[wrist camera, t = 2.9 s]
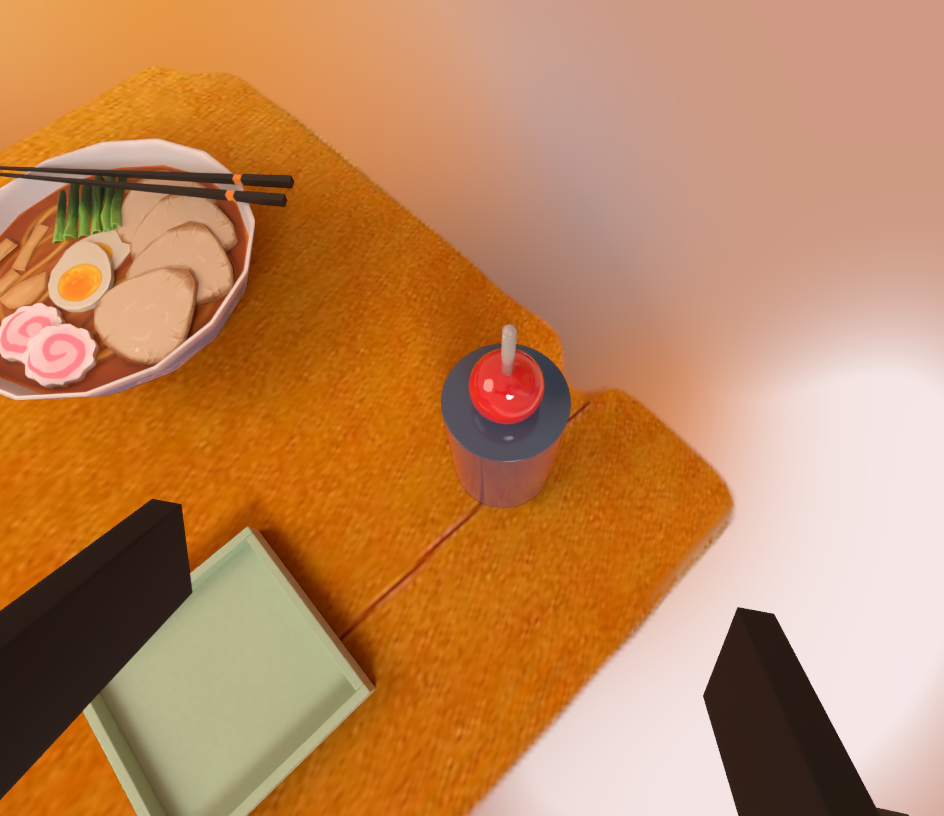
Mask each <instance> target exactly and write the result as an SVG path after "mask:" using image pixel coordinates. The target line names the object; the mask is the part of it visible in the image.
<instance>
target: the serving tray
mask: <svg viewBox="0 0 944 816" xmlns="http://www.w3.org/2000/svg"><path fill="white" fill-rule="evenodd" d="M190 576H191V584H192V591H193V593H192V594H191V595H190V596H189V597H188V598H187V599H186V600H185V601H184V603H183V604H182V605H181V606H180V607H179V608H178V609H177V610H176V611H175V612H174V613H173V614H172V615H171V617H170V618H169V619H168V620H167V621H166V622H165V623H164V624H163V625H162V626H161V627H160V628H159V629H158V631H157V632H156V633H155V634H154V635H153V636H152V637H151V638H150V639H149V640H148V641H147V642H146V643H145V645H144V646H143V647H142V648H141V649H140V650H139V651H138V652H137V653H136V654H135V655H134V656H133V657H132V659H131V660H130V661H129V662H128V663H127V664H126V665H125V666H124V667H123V668H122V669H121V670H120V671H119V673H118V674H117V675H116V676H115V677H114V678H113V679H112V680H111V681H110V682H109V683H108V684H107V686H106V687H105V688H104V689H103V690H102V691H101V692H100V693H99V694H98V695H97V696H96V697H95V698H94V700H93V701H92V702H91V703H90V704H89V705H88V706H87V707H86V708H85V709H84V710H83V713H84V715H85V716H86V718H87V720H88V722H89V724H90V726H91V728H92V730H93V732H94V734H95V735H96V737H97V739H98V741H99V743H100V745H101V747H102V749H103V751H104V753H105V754H106V756H107V758H108V760H109V762H110V764H111V766H112V768H113V770H114V772H115V773H116V775H117V777H118V779H119V781H120V783H121V785H122V787H123V789H124V791H125V793H126V794H127V796H128V798H129V800H130V802H131V804H132V806H133V808H134V810H135V812H136V813H137V815H138V816H247V815H248V814H250V813H251V812H252V811H253V810H254V809H255V808H256V807H257V806H258V805H259V804H260V803H261V802H262V801H263V800H264V799H265V798H266V797H267V796H268V795H269V794H270V793H271V792H272V791H273V790H274V789H275V788H276V787H277V786H278V785H279V784H280V783H281V782H282V781H283V780H284V779H285V778H286V777H287V776H288V775H289V774H290V773H291V772H292V771H293V770H294V769H295V768H296V767H297V766H298V765H299V764H300V763H301V762H303V761H304V760H305V759H306V758H307V757H308V756H309V755H310V754H311V753H312V752H313V751H314V750H315V749H316V748H317V747H318V746H319V745H320V744H321V743H322V742H323V741H324V740H325V739H326V738H327V737H328V736H329V735H330V734H331V733H332V732H333V731H334V730H335V729H336V728H337V727H338V726H339V725H340V724H341V723H342V722H343V721H344V720H345V719H346V718H347V717H348V716H349V715H350V714H351V713H352V712H353V711H354V710H356V709H357V708H358V707H359V706H360V705H361V704H362V703H363V702H364V701H365V700H366V699H367V698H368V697H369V696H370V695H371V694H372V693H373V692H374V691H375V690H376V688H375V686H374V685H373V684H372V682H371V681H370V680H369V678H368V677H367V676H366V674H365V673H364V672H363V670H362V669H361V668H360V666H359V665H358V664H357V662H356V661H355V659H354V658H353V657H352V655H351V654H350V653H349V651H348V650H347V649H346V647H345V646H344V645H343V643H342V642H341V641H340V639H339V638H338V637H337V635H336V634H335V633H334V631H333V630H332V629H331V627H330V626H329V624H328V623H327V622H326V620H325V619H324V618H323V616H322V615H321V614H320V612H319V611H318V610H317V608H316V607H315V606H314V604H313V603H312V602H311V600H310V599H309V598H308V596H307V595H306V594H305V592H304V591H303V590H302V588H301V587H300V585H299V584H298V583H297V581H296V580H295V579H294V577H293V576H292V575H291V573H290V572H289V571H288V569H287V568H286V567H285V565H284V564H283V563H282V561H281V560H280V559H279V557H278V556H277V555H276V553H275V552H274V550H273V549H272V548H271V546H270V545H269V544H268V542H267V541H266V540H265V538H264V537H263V536H262V534H261V533H260V532H259V531H258V530H256V529H253V528H251V527H249V526H247V527H246V528H245V529H243V530H242V531H241V532H240V533H238V534H237V535H236V536H235V537H234V538H232V539H231V540H230V541H229V542H228V543H226V544H225V545H224V546H223V547H221V548H220V549H219V550H218V551H217V552H215V553H214V554H213V555H212V556H211V557H209V558H208V559H207V560H206V561H204V562H203V563H202V564H201V565H200V566H198V567H197V568H196V569H195V570H194V571H192V572H191V573H190Z"/></svg>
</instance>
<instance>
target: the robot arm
mask: <svg viewBox="0 0 944 816" xmlns="http://www.w3.org/2000/svg"><path fill="white" fill-rule="evenodd" d="M192 593H193V591H192V584H191V576H190V568H189V560H188V553H187V545H186V537H185V530H184V522H183V514H182V506H181V504H177V503H172V502H166V501H161V500H155V499H151V500H150V501H149V502H147V503H146V504H145V505H143V506H142V507H141V508H139V509H138V510H137V511H135V512H134V513H132V514H131V515H130V516H128V517H127V518H126V519H124V520H123V521H122V522H120V523H119V524H118V525H116V526H115V527H113V528H112V529H111V530H109V531H108V532H107V533H105V534H104V535H103V536H101V537H100V538H99V539H97V540H96V541H95V542H93V543H92V544H90V545H89V546H88V547H86V548H85V549H84V550H82V551H81V552H80V553H78V554H77V555H76V556H74V557H73V558H71V559H70V560H69V561H67V562H66V563H65V564H63V565H62V566H61V567H59V568H58V569H57V570H55V571H54V572H53V573H51V574H50V575H48V576H47V577H46V578H44V579H43V580H42V581H40V582H39V583H38V584H36V585H35V586H34V587H32V588H31V589H29V590H28V591H27V592H25V593H24V594H23V595H21V596H20V597H19V598H17V599H16V600H15V601H13V602H12V603H10V604H9V605H8V606H6V607H5V608H4V609H2V610H1V611H0V800H1V799H2V798H3V796H4V795H5V794H6V793H7V792H8V791H9V790H10V789H11V788H12V787H13V786H14V785H15V784H16V782H17V781H18V780H19V779H20V778H21V777H22V776H23V775H24V774H25V773H26V772H27V771H28V770H29V768H30V767H31V766H32V765H33V764H34V763H35V762H36V761H37V760H38V759H39V758H40V757H41V756H42V754H43V753H44V752H45V751H46V750H47V749H48V748H49V747H50V746H51V745H52V744H53V743H54V742H55V740H56V739H57V738H58V737H59V736H60V735H61V734H62V733H63V732H64V731H65V730H66V729H67V728H68V726H69V725H70V724H71V723H72V722H73V721H74V720H75V719H76V718H77V717H78V716H79V715H80V714H81V712H82V711H83V710H84V709H85V708H86V707H87V706H88V705H89V704H90V703H91V702H92V701H93V700H94V698H95V697H96V696H97V695H98V694H99V693H100V692H101V691H102V690H103V689H104V688H105V687H106V686H107V684H108V683H109V682H110V681H111V680H112V679H113V678H114V677H115V676H116V675H117V674H118V673H119V671H120V670H121V669H122V668H123V667H124V666H125V665H126V664H127V663H128V662H129V661H130V660H131V659H132V657H133V656H134V655H135V654H136V653H137V652H138V651H139V650H140V649H141V648H142V647H143V646H144V645H145V643H146V642H147V641H148V640H149V639H150V638H151V637H152V636H153V635H154V634H155V633H156V632H157V631H158V629H159V628H160V627H161V626H162V625H163V624H164V623H165V622H166V621H167V620H168V619H169V618H170V617H171V615H172V614H173V613H174V612H175V611H176V610H177V609H178V608H179V607H180V606H181V605H182V604H183V603H184V601H185V600H186V599H187V598H188V597H189V596H190V595H191V594H192ZM703 697H704V701H705V704H706V707H707V711H708V714H709V718H710V721H711V725H712V728H713V731H714V735H715V737H716V741H717V745H718V748H719V751H720V755H721V758H722V761H723V765H724V768H725V772H726V775H727V779H728V782H729V785H730V789H731V792H732V795H733V799H734V802H735V806H736V809H737V812H738V815H739V816H909V815H907V814H904V813H899V812H894V811H890V810H885V809H880V808H876V807H875V805H874V803H873V801H872V799H871V797H870V795H869V793H868V791H867V790H866V787H865V786H864V784H863V782H862V780H861V778H860V776H859V774H858V773H857V770H856V768H855V767H854V765H853V763H852V761H851V759H850V757H849V755H848V753H847V752H846V750H845V748H844V746H843V744H842V742H841V740H840V738H839V736H838V734H837V733H836V731H835V729H834V727H833V725H832V723H831V721H830V719H829V718H828V715H827V714H826V712H825V710H824V708H823V706H822V704H821V702H820V700H819V698H818V697H817V694H816V693H815V691H814V689H813V687H812V685H811V683H810V681H809V680H808V677H807V676H806V674H805V672H804V670H803V668H802V666H801V664H800V662H799V661H798V658H797V656H796V655H795V653H794V651H793V649H792V647H791V645H790V644H789V641H788V639H787V637H786V636H785V634H784V632H783V630H782V628H781V626H780V624H779V622H778V620H777V619H776V617H775V615H774V614H772V613H767V612H761V611H756V610H750V609H744V608H739V607H738V608H737V610H736V613H735V616H734V618H733V620H732V623H731V626H730V628H729V631H728V633H727V636H726V638H725V641H724V644H723V646H722V649H721V651H720V654H719V656H718V659H717V661H716V664H715V667H714V669H713V672H712V674H711V677H710V679H709V682H708V685H707V687H706V690H705V692H704V695H703Z"/></svg>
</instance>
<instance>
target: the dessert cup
mask: <svg viewBox="0 0 944 816" xmlns="http://www.w3.org/2000/svg"><path fill="white" fill-rule="evenodd" d="M516 337H517V329H516V327H515V326H514V325H512V324H507V325H505V326H504V327H503V329H502V343H501V344H493V345H488V346H485V347H482V348H479V349H477V350H475V351H473V352H471V353H469V354H468V355H466V356H465V357H464V358H462V359H461V360H460V361H459V362H458V363H457V364H456V365H455V366H454V367H453V369H452V370H451V372H450V373H449V375H448V377H447V379H446V381H445V384H444V386H443V390H442V395H441V408H442V414H443V418H444V423H445V427H446V431H447V435H448V440H449V444H450V448H451V452H452V456H453V461H454V465H455V469H456V473H457V477H458V479H459V481H460V483H461V485H462V487H463V488H464V489H465V491H466V492H467V493H468V494H469V495H470V496H471V497H472V498H474V499H475V500H477V501H478V502H480V503H482V504H484V505H487V506H491V507H496V508H511V507H515V506H519V505H521V504H524V503H526V502H527V501H529V500H531V499H532V498H533V497H534V496H535V495H536V494H538V493H539V491H540V490H541V489H542V487H543V486H544V484H545V482H546V480H547V477H548V474H549V472H550V469H551V466H552V463H553V461H554V458H555V455H556V452H557V450H558V447H559V444H560V441H561V439H562V436H563V433H564V430H565V428H566V425H567V422H568V419H569V415H570V408H571V397H570V392H569V388H568V385H567V382H566V380H565V378H564V376H563V374H562V373H561V371H560V370H559V368H558V367H557V366H556V365H555V364H554V363H553V362H552V361H551V360H550V359H549V358H547V357H546V356H545V355H543V354H542V353H540V352H538V351H536V350H534V349H532V348H529V347H526V346H522V345H518V344H516Z"/></svg>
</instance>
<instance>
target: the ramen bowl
mask: <svg viewBox="0 0 944 816" xmlns="http://www.w3.org/2000/svg"><path fill="white" fill-rule="evenodd" d="M0 169H1V170H16V171H27V172H26V173H24V174H11V173H0V176H5V177H14V178H16V179H14V180H13V181H11V182H10V183H8V184H7V185H5V186H3V187H2V188H0V394H2V395H4V396H7V397H9V398H12V399H14V400H41V399H59V398H77V397H95V396H106V395H110V394H115V393H119V392H122V391H125V390H127V389H130V388H132V387H135V386H138V385H140V384H143V383H145V382H148V381H151V380H153V379H156V378H158V377H161V376H164V375H166V374H169V373H171V372H174V371H175V370H177V369H178V368H180V367H181V366H182V365H183V364H185V363H186V362H187V361H188V360H189V359H191V358H192V357H193V356H194V355H196V354H197V353H198V352H199V351H201V350H202V349H203V348H204V347H205V346H207V345H208V344H209V343H210V342H212V341H213V340H214V339H215V338H216V337H217V335H218V334H219V332H220V331H221V329H222V328H223V326H224V325H225V323H226V322H227V320H228V318H229V317H230V315H231V314H232V312H233V311H234V309H235V308H236V306H237V305H238V303H239V301H240V300H241V298H242V297H243V295H244V293H245V290H246V287H247V283H248V276H249V270H250V263H251V257H252V250H253V243H254V234H255V219H254V216H253V214H252V211H251V208H250V205H249V203H253V204H262V205H272V206H281V207H285V206H286V203H287V201H288V200H287V198H286V196H285V194H277V193H263V192H250V191H244V189H243V186H242V185H247V186H262V187H278V188H293V185H294V180H293V178H292V176H289V175H257V174H240V175H237V174H233V173H232V172H230V171H229V170H228V169H227V168H225V167H224V166H223V165H222V164H220V163H219V162H218V161H217V160H215V159H214V158H213V157H212V156H210V155H209V154H208V153H207V152H205V151H202V150H198V149H194V148H191V147H187V146H184V145H180V144H176V143H173V142H169V141H165V140H162V139H158V138H156V139H140V140H125V141H109V142H100V143H97V144H94V145H91V146H88V147H85V148H82V149H79V150H75V151H72V152H69V153H66V154H63V155H60V156H57V157H54V158H51V159H48V160H45V161H43V162H41V163H40V164H38V165H37V166H35V167H5V166H0Z"/></svg>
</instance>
